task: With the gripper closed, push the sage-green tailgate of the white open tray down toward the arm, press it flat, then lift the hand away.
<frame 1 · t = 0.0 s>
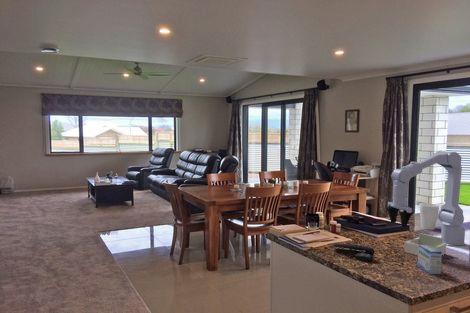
hand: (398, 224, 166), 10 cm above the counter, tool pointing down, fingers open, 7 cm apart
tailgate: (431, 241, 161), point 4 cm above the counter, hinge at 0.0°
medicine box: (428, 270, 138), on the counter
foam cup: (427, 228, 200), on the counter
white open tray: (424, 253, 158), on the counter
can opener: (353, 256, 153), on the counter
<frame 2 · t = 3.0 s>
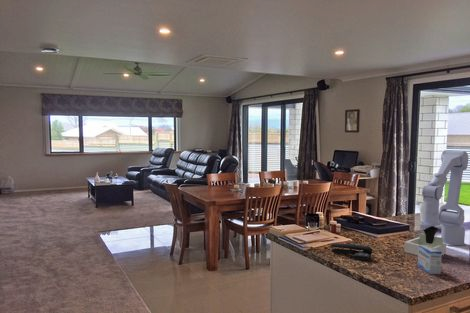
hand: (429, 243, 160), 4 cm above the counter, tool pointing down, fingers closed, pressing on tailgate
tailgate: (431, 241, 161), point 4 cm above the counter, hinge at 1.9°, touching gripper
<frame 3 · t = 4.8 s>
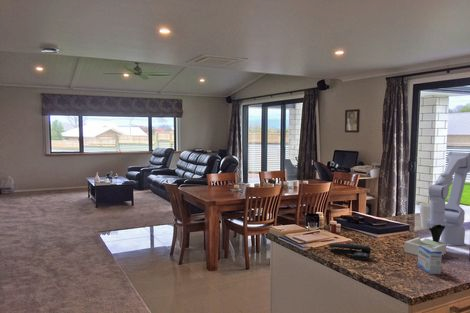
hand: (435, 241, 164), 4 cm above the counter, tool pointing down, fingers closed, pressing on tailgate
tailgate: (433, 244, 163), point 2 cm above the counter, hinge at 80.5°, touching gripper
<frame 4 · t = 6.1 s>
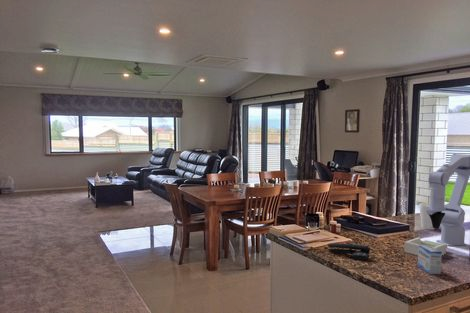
hand: (435, 228, 164), 9 cm above the counter, tool pointing down, fingers closed
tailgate: (433, 245, 163), point 2 cm above the counter, hinge at 90.2°
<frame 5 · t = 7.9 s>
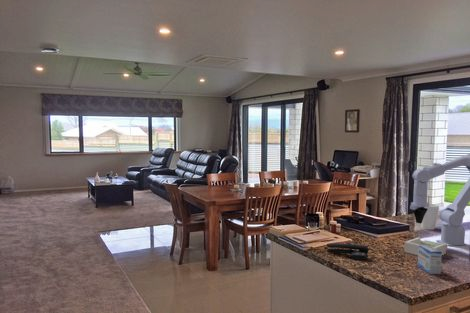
hand: (418, 222, 173), 9 cm above the counter, tool pointing down, fingers closed
at the end: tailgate at +90° (first picture: +0°) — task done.
